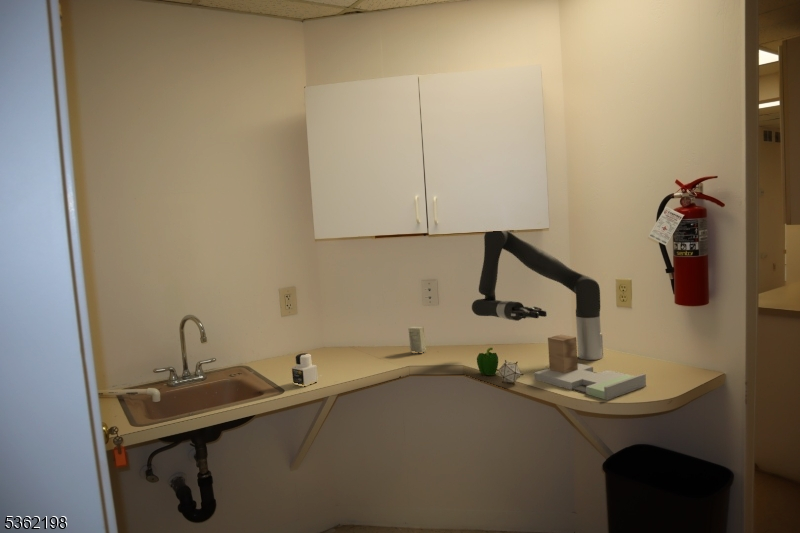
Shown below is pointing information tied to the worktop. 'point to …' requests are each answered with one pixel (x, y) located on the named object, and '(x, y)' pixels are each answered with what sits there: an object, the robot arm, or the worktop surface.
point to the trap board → (593, 381)
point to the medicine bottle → (304, 370)
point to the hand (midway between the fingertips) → (541, 314)
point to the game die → (509, 372)
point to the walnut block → (562, 353)
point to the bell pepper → (487, 362)
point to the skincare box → (417, 339)
